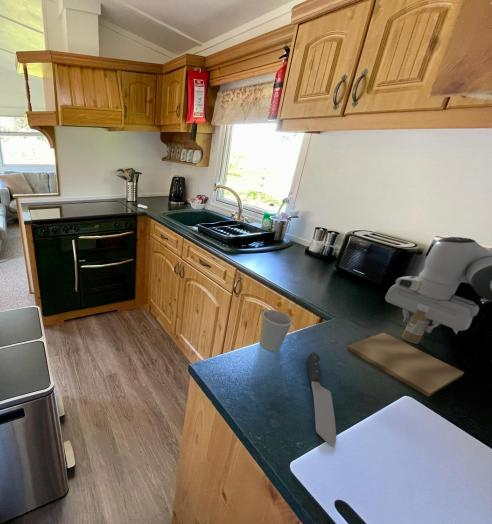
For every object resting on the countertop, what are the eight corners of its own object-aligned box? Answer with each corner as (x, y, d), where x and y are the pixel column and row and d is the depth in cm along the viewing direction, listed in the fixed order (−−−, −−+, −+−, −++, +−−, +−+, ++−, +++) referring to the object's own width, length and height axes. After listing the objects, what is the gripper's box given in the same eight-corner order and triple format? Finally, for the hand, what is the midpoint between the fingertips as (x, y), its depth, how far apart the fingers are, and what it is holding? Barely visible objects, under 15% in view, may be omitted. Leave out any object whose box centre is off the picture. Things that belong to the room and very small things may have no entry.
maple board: (462, 375, 80) (464, 372, 80) (428, 397, 72) (430, 393, 71) (381, 335, 97) (383, 332, 96) (346, 348, 88) (347, 345, 88)
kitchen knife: (345, 449, 56) (319, 433, 57) (337, 456, 57) (312, 440, 58) (327, 358, 81) (309, 348, 82) (322, 364, 82) (304, 354, 83)
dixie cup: (290, 352, 85) (299, 323, 81) (267, 356, 82) (275, 326, 79) (271, 335, 92) (278, 308, 89) (249, 338, 90) (256, 310, 86)
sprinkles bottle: (399, 334, 98) (415, 299, 93) (416, 338, 96) (433, 303, 91) (403, 341, 94) (420, 305, 89) (421, 346, 92) (439, 309, 87)
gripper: (486, 302, 81) (464, 343, 86) (400, 274, 98) (386, 310, 103) (477, 306, 78) (454, 348, 83) (391, 277, 95) (376, 313, 100)
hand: (416, 326), depth 93 cm, fingers closed on sprinkles bottle, 4 cm apart
